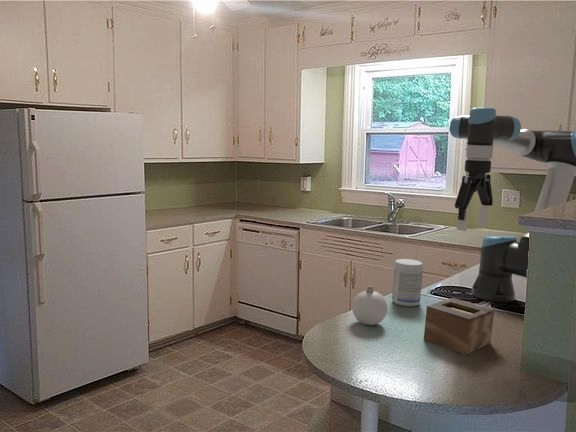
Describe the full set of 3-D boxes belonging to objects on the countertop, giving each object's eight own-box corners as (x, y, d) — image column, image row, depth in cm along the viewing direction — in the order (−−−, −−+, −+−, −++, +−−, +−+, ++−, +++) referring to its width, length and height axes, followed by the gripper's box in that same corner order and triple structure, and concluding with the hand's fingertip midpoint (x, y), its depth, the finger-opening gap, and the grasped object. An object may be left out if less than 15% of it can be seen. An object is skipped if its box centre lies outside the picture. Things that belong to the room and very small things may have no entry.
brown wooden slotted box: (449, 329, 162) (452, 297, 161) (490, 343, 153) (494, 309, 151) (423, 339, 153) (426, 305, 151) (465, 355, 143) (469, 319, 142)
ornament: (360, 331, 157) (363, 291, 155) (346, 319, 166) (349, 281, 164) (391, 328, 160) (395, 290, 158) (375, 317, 170) (378, 280, 168)
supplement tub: (425, 305, 185) (429, 263, 183) (405, 309, 180) (409, 266, 178) (405, 297, 193) (408, 257, 191) (385, 300, 188) (389, 259, 186)
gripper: (485, 157, 175) (479, 221, 178) (446, 159, 157) (440, 230, 161) (508, 159, 169) (501, 225, 173) (470, 161, 152) (464, 234, 156)
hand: (472, 228), depth 167 cm, fingers open, 13 cm apart
